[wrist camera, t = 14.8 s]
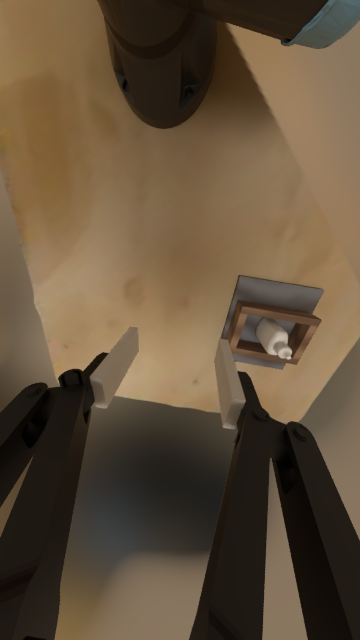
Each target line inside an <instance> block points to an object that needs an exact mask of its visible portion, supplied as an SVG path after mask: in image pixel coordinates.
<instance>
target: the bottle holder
mask: <svg viewBox="0 0 360 640" xmlns="http://www.w3.org/2000/svg"><path fill="white" fill-rule="evenodd" d="M323 292H324V290H323V289H318V288H312V287H306V286H300V285H294V284H288V283H282V282H276V281H270V280H264V279H258V278H252V277H246V276H240V275H239V278H238V281H237V285H236V288H235V292H234V295H233V298H232V302H231V305H230V309H229V312H228V315H227V319H226V322H225V326H224V329H223V332H222V336H221V339H226V340H228V342H229V345H230V349H231V352H232V356H233V359H234V361H237V362H242V363H248V364H253V365H259V366H264V367H270V368H275V369H281V370H283V368H284V366H285V364H286V363H289V364H295V365H297V363H298V361H299V360H300V358H301V356H302V354H303V352H304V351H305V349H306V347H307V345H308V344H309V342H310V340H311V338H312V337H313V335H314V333H315V331H316V329H317V328H318V326H319V324H320V322H321V321H322V320H321V319H319V318H317V317H316V316H314V315H312V313H313V311H314V309H315V307H316V305H317V303H318V302H319V300H320V298H321V296H322V294H323ZM264 317H265V318H271V319H274V320H275V321H276V322H277V323H278V324H279V325H280V326H281V327H282V328H283V329H284V330H285V331H286V332H287V334H288V343H287V345H288V346H289V348H290V349H291V350H292V354H291V359H289V360H288V359H286V358H280V357H279V356H278V355H271V354H268V353H267V352H266V350H265V349H264V347H263V346H262V344H261V343H260V341H259V340H258V338H257V336H256V328H257V326H258V324H259V322H260V321H261V320H262V319H263V318H264Z"/></svg>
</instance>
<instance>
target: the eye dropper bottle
mask: <svg viewBox="0 0 360 640" xmlns="http://www.w3.org/2000/svg"><path fill="white" fill-rule="evenodd" d="M256 336H257V338H258V340H259V341H260V343H261V344H262V346H263V347H264V349H265V350H266V352H267V353H268V354H271V355H278V356H279V357H280V358H286V359H288V360H289V359H291V354H292V350H291V349H290V348H289V346H288V345H287V343H288V334H287V332H286V331H285V330H284V329H283V328H282V327H281V326H280V325H279V324H278V323H277V322H276V321H275V320H274V319H271V318H265V317H264V318H263V319H262V320H261V321H260V322H259V324H258V326H257V328H256Z"/></svg>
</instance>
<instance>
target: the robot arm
mask: <svg viewBox="0 0 360 640" xmlns="http://www.w3.org/2000/svg"><path fill="white" fill-rule="evenodd" d="M98 3H99V5H100V7H101V10H102V12H103V15H104V20H105V26H106V32H107V38H108V44H109V50H110V56H111V61H112V65H113V69H114V72H115V75H116V78H117V81H118V84H119V86H120V88H121V90H122V92H123V94H124V96H125V98H126V100H127V102H128V104H129V106H130V107H131V109H132V110H133V111H134V113H135V114H136V115H137V116H138V117H139V118H140V119H141V120H143V121H144V122H146V123H147V124H149V125H151V126H154V127H158V128H170V127H174V126H177V125H179V124H181V123H182V122H184V121H185V120H187V119H188V118H189V117H190V116H191V115H192V114H193V113H194V112H195V110H196V109H197V108H198V106H199V105H200V103H201V102H202V100H203V98H204V96H205V94H206V92H207V89H208V87H209V84H210V80H211V77H212V73H213V68H214V61H215V51H216V39H217V21H216V19H218V20H221V21H224V22H227V23H230V24H233V25H236V26H239V27H242V28H245V29H249V30H252V31H255V32H258V33H261V34H264V35H267V36H270V37H273V38H277V39H279V40H281V44H282V45H284V46H291V45H293V44H298V45H302V46H307V47H311V48H316V49H321V48H326V47H328V46H330V45H331V44H332V43H334V42H335V41H337V40H338V39H340V38H342V37H343V36H344V35H345V34H347V33H348V32H349V31H350V30H351V29H352V28H353V27H354V26H355V25H356V24H357V22H358V21H359V20H360V0H98ZM138 351H139V346H138V328H136V327H130V328H129V329H128V330H127V332H126V333H125V334H124V335H123V337H122V338H121V339H120V340H119V341H118V343H117V344H116V345H115V346H114V348H113V349H112V350H111V351H110V353H104V352H103V353H101V354H99V355H98V356H97V357H96V358H95V359H94V360H93V361H92V362H91V363H90V365H88V367H87V368H86V369H85V370H84V371H82V370H80V369H71V370H68V371H66V372H64V373H63V374H61V375H60V376H59V378H58V380H59V383H60V386H61V387H53V388H48V386H47V384H45V383H35V384H32V385H30V386H28V387H26V388H25V389H23V390H22V391H21V392H20V393H19V394H18V395H17V396H16V397H15V398H14V399H13V400H12V401H11V402H10V403H9V404H8V405H7V406H6V407H5V408H4V410H3V411H2V412H1V413H0V507H1V506H2V504H3V503H4V501H5V499H6V498H7V496H8V495H9V493H10V491H11V490H12V488H13V487H14V485H15V484H16V482H17V480H18V479H19V477H20V476H21V474H22V472H23V471H24V469H25V468H26V466H27V464H28V463H29V461H30V460H31V458H32V456H33V455H34V456H33V459H32V461H31V464H30V466H29V469H28V471H27V473H26V476H25V478H24V481H23V483H22V486H21V488H20V491H19V493H18V496H17V498H16V501H15V503H14V506H13V508H12V510H11V513H10V515H9V518H8V520H7V523H6V525H5V528H4V530H3V532H2V535H1V537H0V640H54V638H55V633H56V627H57V621H58V614H59V605H60V582H61V576H62V570H63V565H64V559H65V553H66V548H67V542H68V537H69V532H70V525H71V521H72V515H73V510H74V504H75V499H76V493H77V488H78V482H79V477H80V471H81V466H82V460H83V455H84V449H85V444H86V438H87V433H88V427H89V422H90V416H91V406H92V404H93V403H94V401H95V406H96V407H100V408H107V407H108V405H109V403H110V401H111V399H112V398H113V396H114V394H115V392H116V390H117V389H118V387H119V385H120V383H121V382H122V380H123V378H124V376H125V374H126V373H127V371H128V369H129V367H130V365H131V364H132V362H133V360H134V358H135V356H136V355H137V353H138ZM214 362H215V370H216V378H217V386H218V393H219V401H220V409H221V417H222V424H223V428H229V429H235V427H236V425H237V428H238V433H237V436H236V439H235V441H234V443H235V445H234V450H233V454H232V459H231V463H230V467H229V472H228V477H227V481H226V485H225V490H224V494H223V499H222V503H221V507H220V512H219V517H218V521H217V525H216V530H215V534H214V539H213V543H212V547H211V552H210V557H209V561H208V565H207V570H206V574H205V578H204V583H203V587H202V592H201V596H200V601H199V605H198V610H197V614H196V617H195V621H194V624H193V628H192V631H191V634H190V638H189V640H262V631H263V606H264V583H265V559H266V535H267V511H268V487H269V463H270V458H272V462H273V467H274V472H275V477H276V482H277V487H278V492H279V497H280V502H281V508H282V512H283V517H284V523H285V527H286V532H287V538H288V542H289V548H290V552H291V558H292V562H293V568H294V573H295V578H296V583H297V588H298V592H299V598H300V603H301V608H302V613H303V617H304V623H305V628H306V632H307V638H308V640H360V540H359V538H358V536H357V534H356V531H355V529H354V527H353V525H352V522H351V520H350V518H349V515H348V513H347V511H346V509H345V507H344V504H343V502H342V500H341V497H340V495H339V493H338V491H337V488H336V486H335V484H334V482H333V479H332V477H331V475H330V472H329V470H328V468H327V466H326V463H325V461H324V459H323V457H322V454H321V452H320V450H319V448H318V446H317V443H316V441H315V439H314V437H313V435H312V434H311V432H310V431H309V430H308V429H307V428H306V427H304V426H303V425H302V424H299V423H297V422H293V421H291V422H288V424H287V425H285V424H283V423H281V422H279V421H276V420H274V419H272V418H271V417H270V416H269V414H268V413H267V412H266V411H265V410H264V409H263V408H262V407H261V404H260V402H259V399H258V396H257V394H256V391H255V389H254V386H253V383H252V381H251V378H250V377H249V376H248V374H247V373H246V372H240V371H237V369H236V366H235V362H234V359H233V356H232V352H231V349H230V345H229V342H228V340H226V339H219V344H218V348H217V352H216V357H215V361H214ZM34 453H35V454H34Z"/></svg>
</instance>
